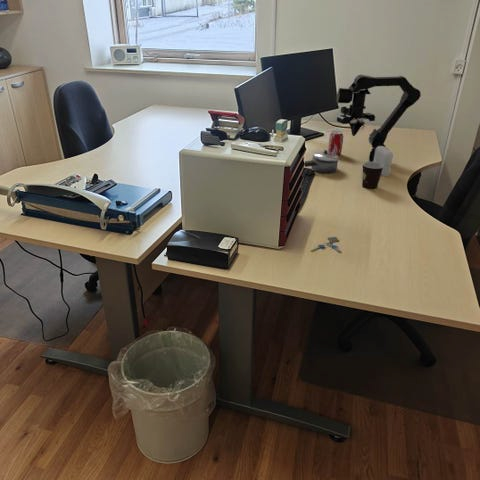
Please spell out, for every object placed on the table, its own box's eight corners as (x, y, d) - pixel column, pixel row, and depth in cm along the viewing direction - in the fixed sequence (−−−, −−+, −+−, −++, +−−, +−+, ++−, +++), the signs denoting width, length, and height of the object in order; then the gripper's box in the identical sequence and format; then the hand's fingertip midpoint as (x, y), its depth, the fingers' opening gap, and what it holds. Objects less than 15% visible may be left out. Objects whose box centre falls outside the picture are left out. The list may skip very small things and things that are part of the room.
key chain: (330, 236, 155) (331, 234, 155) (352, 243, 150) (352, 241, 150) (310, 252, 145) (310, 249, 145) (332, 260, 141) (332, 258, 141)
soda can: (337, 157, 228) (340, 134, 222) (325, 155, 232) (327, 132, 226) (343, 154, 233) (346, 131, 227) (331, 151, 237) (333, 129, 231)
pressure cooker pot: (327, 163, 220) (328, 154, 217) (341, 171, 210) (342, 161, 208) (295, 168, 213) (296, 158, 211) (308, 176, 204) (309, 166, 201)
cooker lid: (329, 153, 217) (330, 149, 216) (343, 161, 208) (344, 156, 207) (308, 154, 213) (309, 149, 211) (321, 161, 203) (322, 156, 202)
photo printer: (390, 175, 207) (395, 150, 200) (382, 176, 205) (387, 150, 199) (378, 168, 215) (382, 143, 209) (370, 169, 214) (374, 144, 208)
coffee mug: (380, 191, 190) (384, 169, 185) (359, 189, 192) (363, 167, 187) (378, 181, 200) (382, 160, 195) (358, 179, 201) (362, 158, 197)
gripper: (363, 98, 219) (359, 129, 227) (332, 101, 213) (328, 133, 221) (378, 103, 211) (372, 135, 218) (345, 106, 204) (341, 139, 212)
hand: (353, 135), depth 217 cm, fingers closed
